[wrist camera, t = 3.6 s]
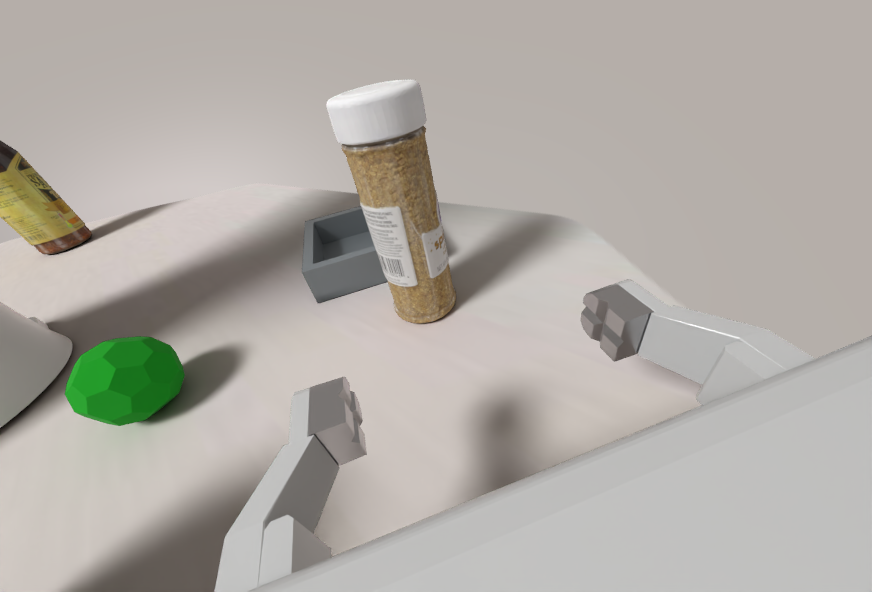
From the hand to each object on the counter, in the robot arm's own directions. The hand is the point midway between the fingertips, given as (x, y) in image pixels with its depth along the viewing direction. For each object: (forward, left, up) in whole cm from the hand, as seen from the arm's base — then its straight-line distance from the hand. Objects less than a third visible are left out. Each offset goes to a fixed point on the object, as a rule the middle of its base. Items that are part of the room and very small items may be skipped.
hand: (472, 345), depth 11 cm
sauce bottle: (-44, +49, -7) cm, 66 cm away
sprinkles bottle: (0, +11, -7) cm, 13 cm away
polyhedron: (-18, +10, -7) cm, 22 cm away
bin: (-3, +20, -7) cm, 22 cm away
